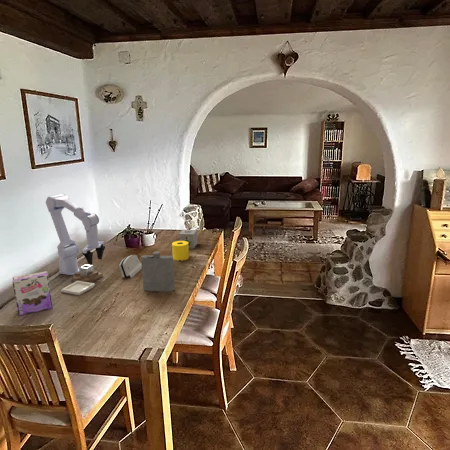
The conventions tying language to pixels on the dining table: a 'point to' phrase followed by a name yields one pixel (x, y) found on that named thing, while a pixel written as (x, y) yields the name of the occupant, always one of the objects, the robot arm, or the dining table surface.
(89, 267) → the sleeve
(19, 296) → the candy box
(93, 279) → the vise block
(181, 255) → the yellow hollow cylinder
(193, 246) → the icon cube
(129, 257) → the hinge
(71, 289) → the dish
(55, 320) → the dining table surface
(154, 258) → the hip flask
